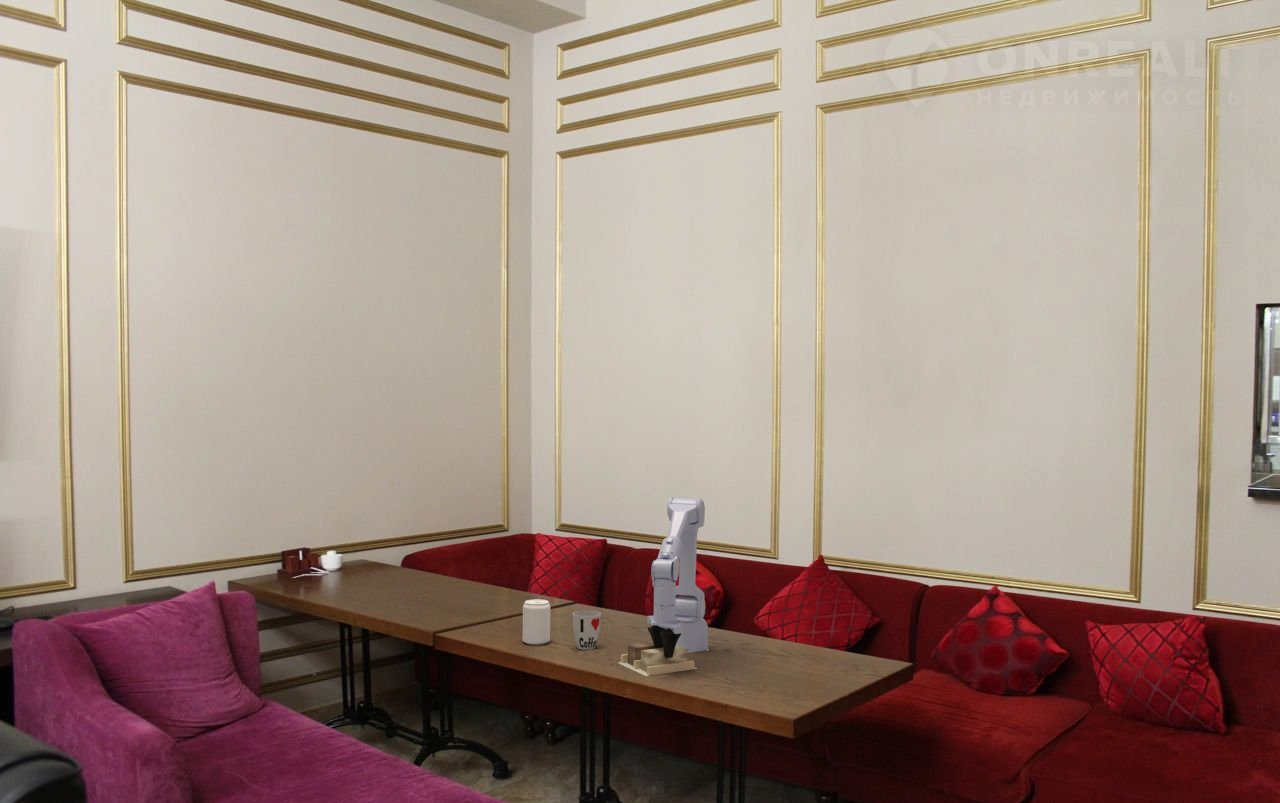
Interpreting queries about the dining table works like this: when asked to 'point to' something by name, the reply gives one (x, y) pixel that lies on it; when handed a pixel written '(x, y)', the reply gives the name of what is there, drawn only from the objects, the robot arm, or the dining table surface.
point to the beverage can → (536, 622)
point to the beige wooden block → (662, 657)
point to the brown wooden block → (637, 651)
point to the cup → (586, 629)
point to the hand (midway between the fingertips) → (664, 655)
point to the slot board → (657, 666)
